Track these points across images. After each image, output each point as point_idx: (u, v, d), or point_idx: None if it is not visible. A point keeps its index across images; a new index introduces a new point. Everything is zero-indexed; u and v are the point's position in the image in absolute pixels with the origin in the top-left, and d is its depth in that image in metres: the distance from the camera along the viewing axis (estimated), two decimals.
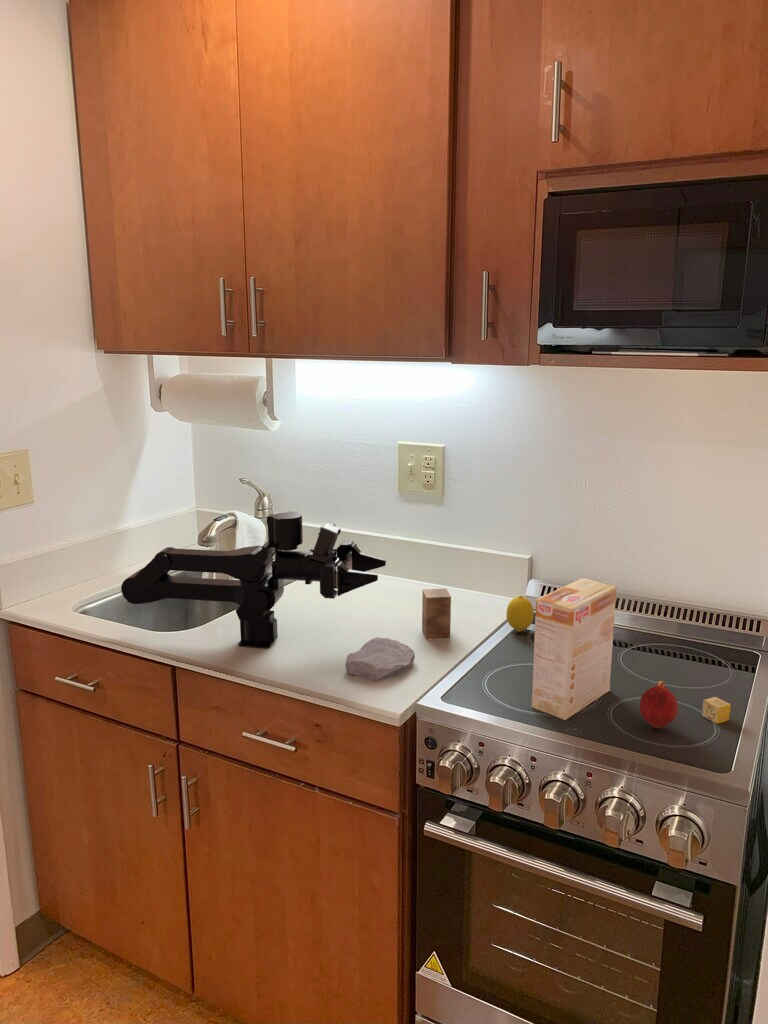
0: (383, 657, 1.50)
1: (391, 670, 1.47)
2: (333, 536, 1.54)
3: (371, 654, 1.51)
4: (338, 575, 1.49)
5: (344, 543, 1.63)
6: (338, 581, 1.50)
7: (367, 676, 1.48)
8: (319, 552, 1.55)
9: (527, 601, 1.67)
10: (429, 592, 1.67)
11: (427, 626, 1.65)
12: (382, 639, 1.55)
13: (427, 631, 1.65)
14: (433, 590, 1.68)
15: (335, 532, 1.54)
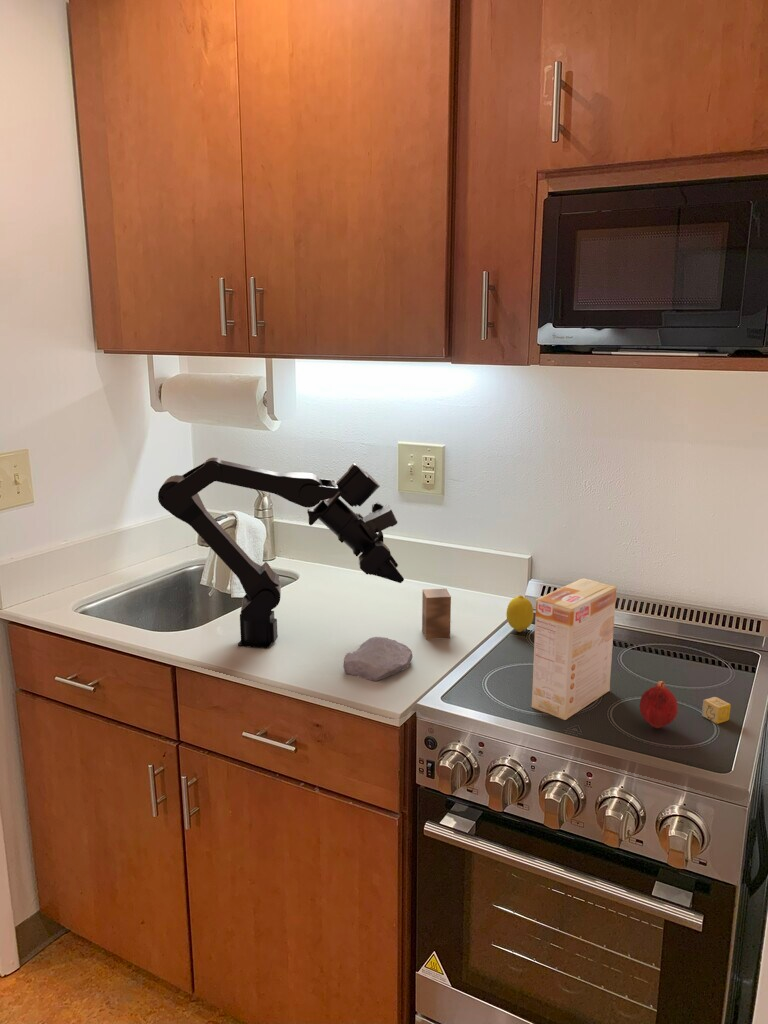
0: (381, 657, 1.50)
1: (389, 669, 1.47)
2: (394, 523, 1.59)
3: (368, 653, 1.51)
4: (384, 559, 1.55)
5: None
6: (380, 564, 1.55)
7: (365, 675, 1.48)
8: (372, 526, 1.59)
9: (527, 601, 1.67)
10: (429, 592, 1.67)
11: (427, 626, 1.65)
12: (380, 638, 1.56)
13: (427, 631, 1.65)
14: (433, 590, 1.68)
15: (396, 521, 1.60)
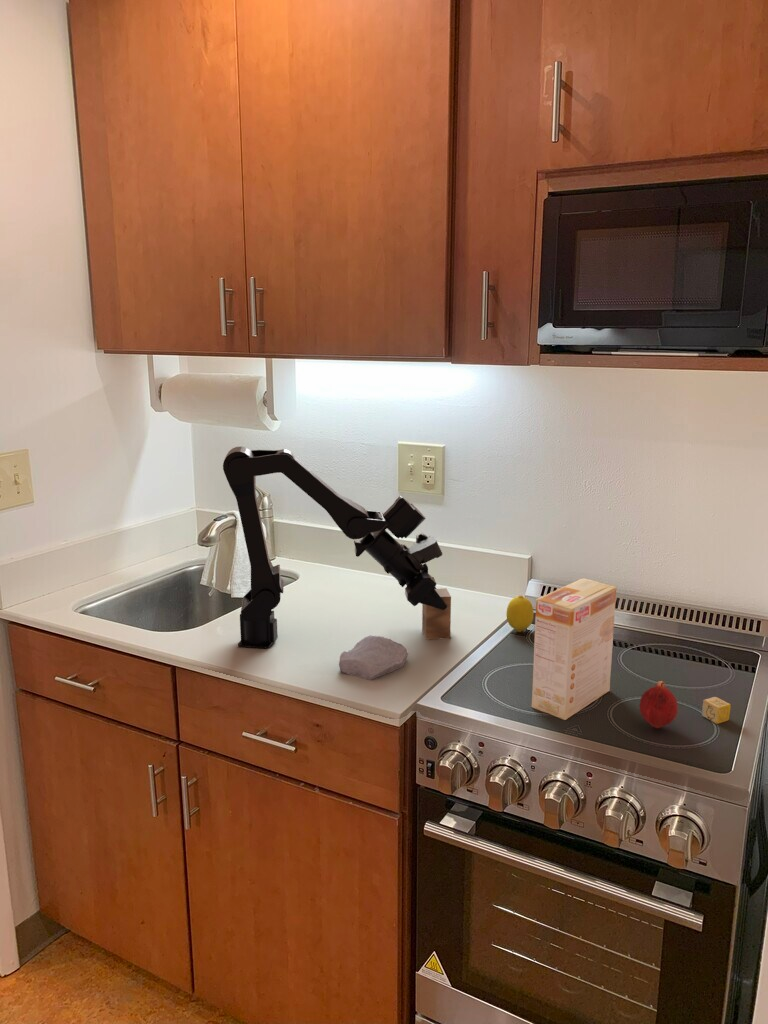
0: (376, 656, 1.50)
1: (384, 668, 1.48)
2: (439, 554, 1.62)
3: (364, 652, 1.52)
4: None
5: None
6: None
7: (360, 674, 1.49)
8: (418, 557, 1.61)
9: (527, 601, 1.67)
10: None
11: (427, 626, 1.65)
12: (375, 637, 1.56)
13: (427, 631, 1.65)
14: None
15: (441, 552, 1.62)
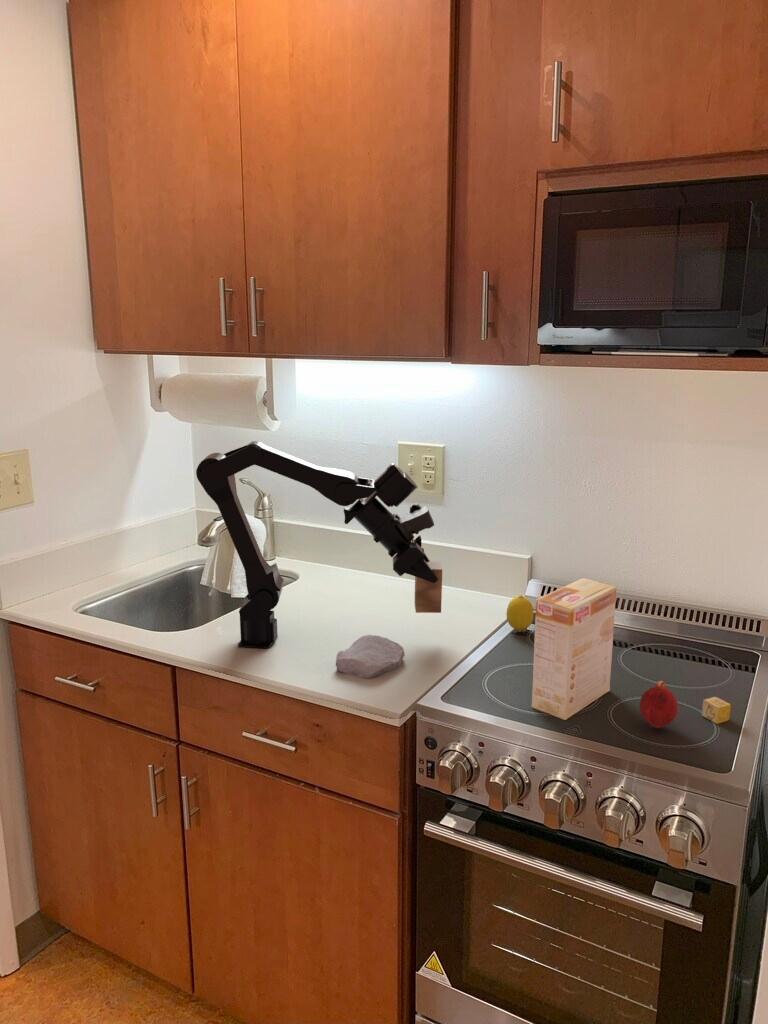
0: (373, 655, 1.51)
1: (381, 667, 1.48)
2: (430, 525, 1.57)
3: (361, 651, 1.52)
4: None
5: None
6: None
7: (357, 673, 1.49)
8: (408, 527, 1.56)
9: (527, 601, 1.67)
10: None
11: (417, 599, 1.60)
12: (372, 636, 1.57)
13: (417, 604, 1.60)
14: (426, 562, 1.63)
15: (433, 523, 1.57)
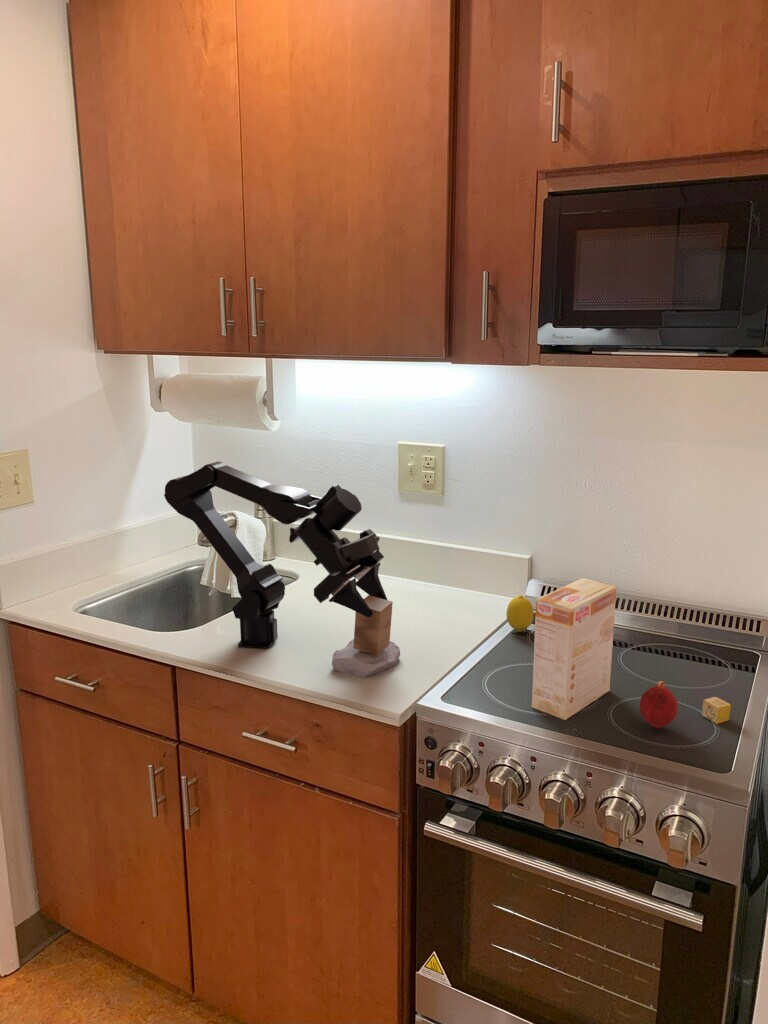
0: (369, 654, 1.51)
1: (377, 666, 1.49)
2: (366, 554, 1.46)
3: (357, 650, 1.53)
4: (342, 589, 1.45)
5: (374, 554, 1.56)
6: (338, 592, 1.45)
7: (353, 673, 1.50)
8: (345, 553, 1.48)
9: (527, 601, 1.67)
10: (369, 599, 1.51)
11: (355, 635, 1.51)
12: None
13: (355, 640, 1.51)
14: (376, 599, 1.51)
15: (371, 552, 1.47)
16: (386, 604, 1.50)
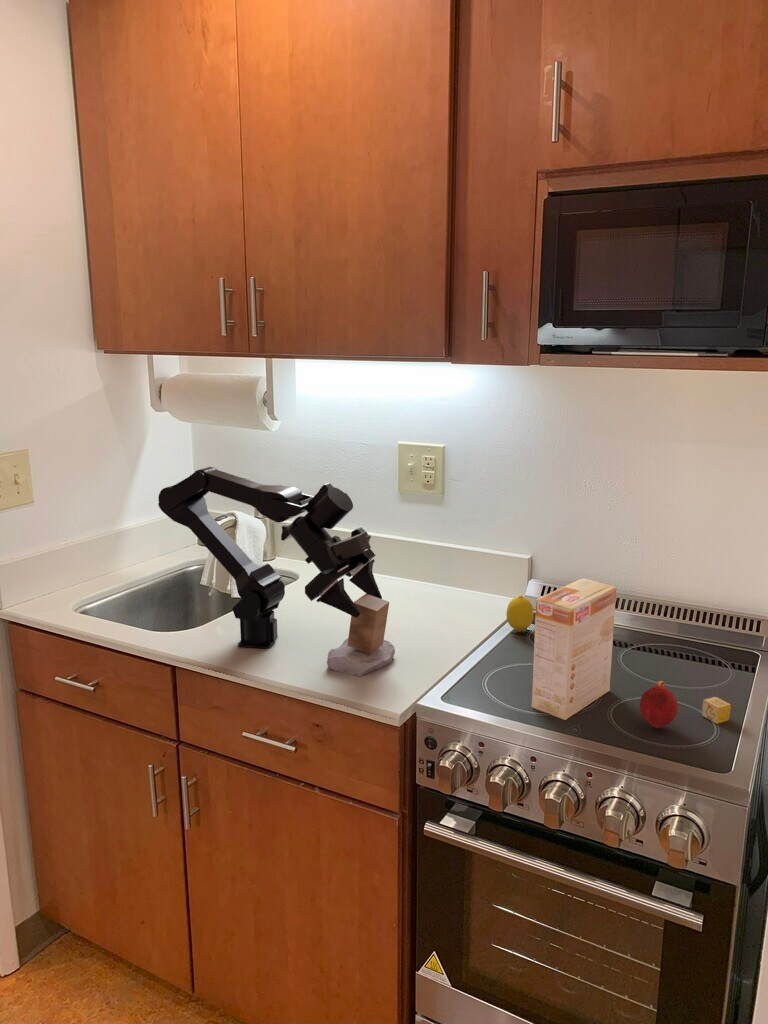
0: (364, 653, 1.52)
1: (372, 665, 1.49)
2: (357, 552, 1.47)
3: (352, 649, 1.53)
4: (330, 589, 1.44)
5: (365, 553, 1.56)
6: (326, 593, 1.45)
7: (348, 671, 1.50)
8: (336, 551, 1.49)
9: (527, 601, 1.67)
10: (366, 598, 1.52)
11: (350, 632, 1.51)
12: None
13: (349, 637, 1.52)
14: (373, 598, 1.52)
15: (362, 550, 1.47)
16: (383, 604, 1.50)
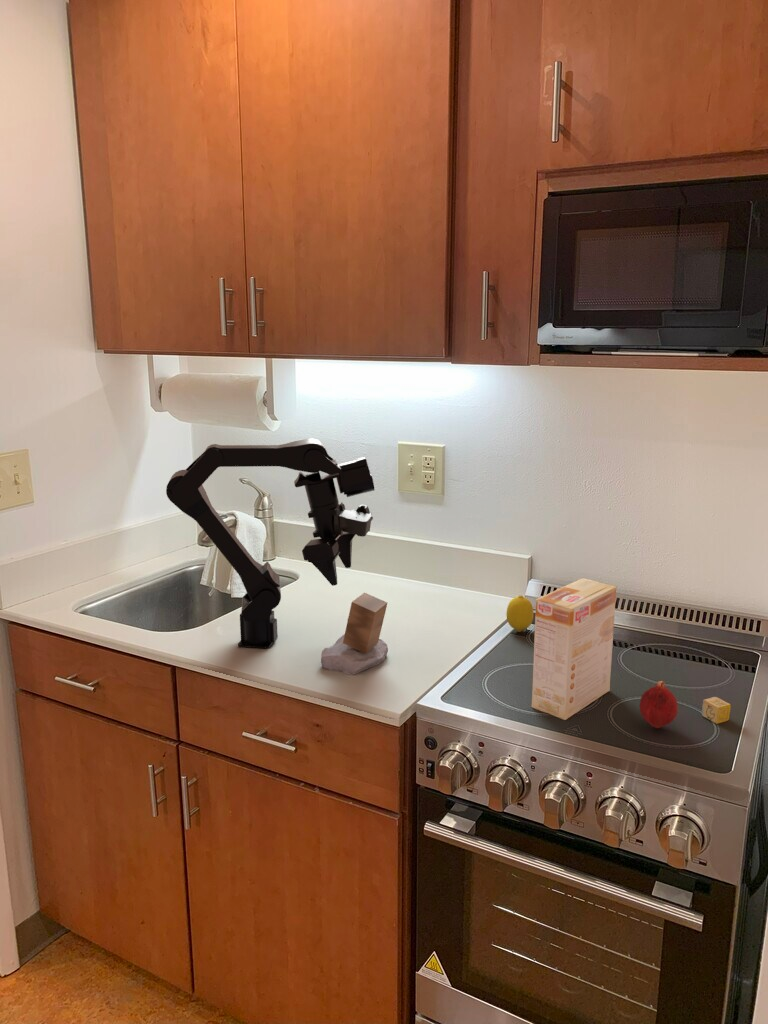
0: (358, 651, 1.52)
1: (366, 663, 1.50)
2: (361, 534, 1.57)
3: (345, 648, 1.54)
4: (326, 559, 1.54)
5: None
6: (321, 559, 1.54)
7: (342, 670, 1.51)
8: (342, 523, 1.57)
9: (527, 601, 1.67)
10: (365, 597, 1.52)
11: (346, 631, 1.52)
12: None
13: (345, 635, 1.52)
14: (372, 598, 1.52)
15: (365, 534, 1.57)
16: (381, 605, 1.51)
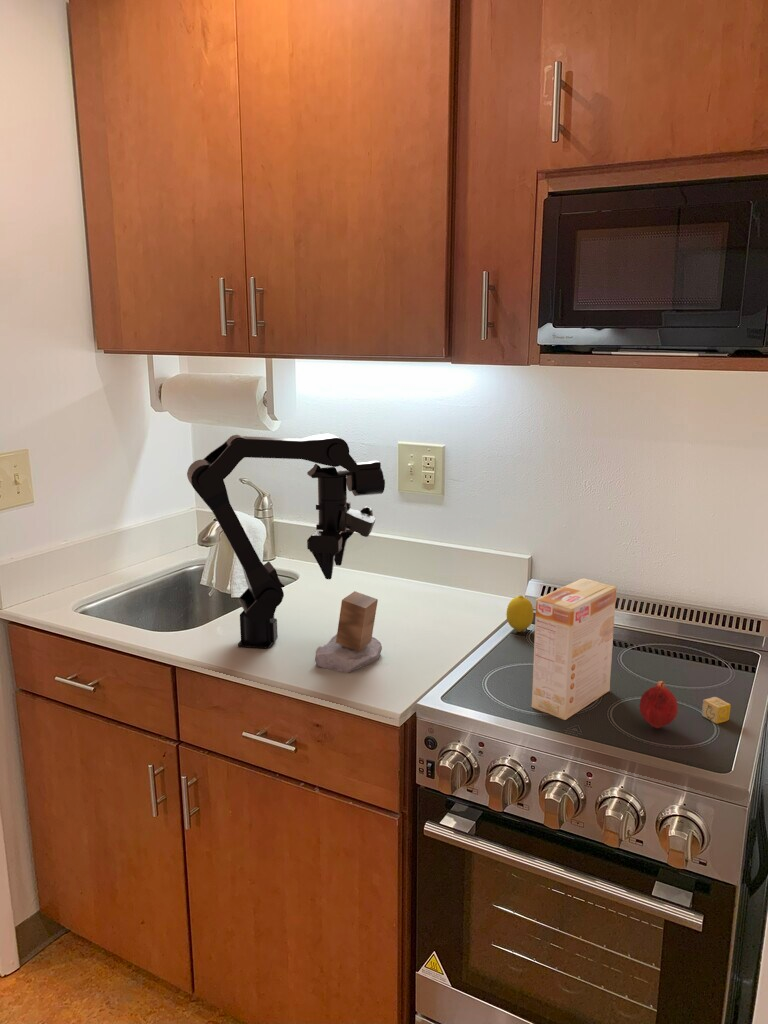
0: (352, 650, 1.53)
1: (360, 662, 1.51)
2: (364, 534, 1.61)
3: (339, 646, 1.54)
4: (329, 552, 1.57)
5: None
6: (324, 551, 1.57)
7: (336, 668, 1.51)
8: (348, 521, 1.61)
9: (527, 601, 1.67)
10: (355, 596, 1.53)
11: (338, 629, 1.52)
12: None
13: (338, 635, 1.53)
14: (362, 596, 1.53)
15: (368, 534, 1.62)
16: (371, 601, 1.52)
